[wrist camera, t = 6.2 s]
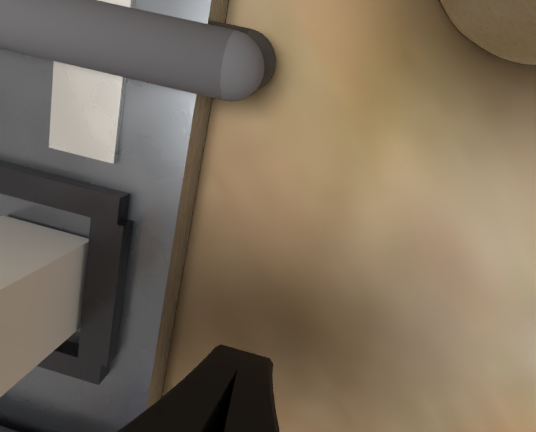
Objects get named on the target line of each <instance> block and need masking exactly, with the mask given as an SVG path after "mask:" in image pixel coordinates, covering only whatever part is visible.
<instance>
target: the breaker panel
mask: <svg viewBox="0 0 536 432" xmlns="http://www.w3.org/2000/svg"><path fill="white" fill-rule="evenodd" d="M98 1H103V2H107V3H112V4H116V5H121V6H126V7H130V8H135V9H140V10H144V11H149V12H154V13H158V14H163V15H168V16H172V17H177V18H182V19H186V20H191V21H196V22H200V23H205V24H211V23H212V22H214V21H216V22H221V23H225V19H226V14H227V8H228V2H229V0H98ZM211 102H212V97H208V96H203V95H199V94H195V93H190V92H186V91H182V90H177V89H173V88H169V87H164V86H160V85H156V84H151V83H147V82H143V81H138V80H134V79H130V78H125V77H121V76H117V75H112V74H108V73H104V72H100V71H95V70H91V69H87V68H82V67H78V66H74V65H69V64H65V63H61V62H56V61H52V60H48V59H43V58H39V57H35V56H30V55H26V54H22V53H17V52H13V51H9V50H4V49H0V216H3V215H4V216H7V217H11V218H15V219H18V220H22V221H26V222H30V223H33V224H37V225H41V226H44V227H48V228H52V229H55V230H59V231H63V232H66V233H70V234H74V235H77V236H81V237H85V238H89V242H88V253H87V264H86V274H85V285H84V296H83V307H82V318H81V328H79V329H78V330H77V331H76V332H75V333H74V334H72V335H71V336H70V337H69V338H68V339H67V340H66V341H64V342H63V343H62V344H61V345H60V346H59V347H58V348H56V349H55V350H54V351H53V352H52V353H51V354H50V355H48V356H47V357H46V358H45V359H44V360H43V361H41V362H40V363H39V364H38V365H37V366H36V367H35V368H33V369H32V370H31V371H30V372H29V373H28V374H27V375H25V376H24V377H23V378H22V379H21V380H20V381H18V382H17V383H16V384H15V385H14V386H13V387H12V388H10V389H9V390H8V391H7V392H6V393H5V394H4V395H2V396H1V397H0V426H3V427H6V428H9V429H13V430H16V431H19V432H117V431H118V430H119V429H121V428H122V427H124V426H125V425H127V424H128V423H129V422H131V421H132V420H133V419H135V418H136V417H137V416H139V415H140V414H141V413H143V412H144V411H145V410H146V409H148V408H149V407H150V406H152V405H153V404H154V403H156V402H157V401H158V400H159V399H161V396H162V390H163V384H164V378H165V373H166V367H167V361H168V355H169V349H170V343H171V337H172V331H173V325H174V320H175V314H176V308H177V302H178V296H179V290H180V284H181V278H182V272H183V267H184V261H185V255H186V249H187V243H188V237H189V231H190V225H191V220H192V214H193V208H194V202H195V196H196V190H197V184H198V178H199V172H200V167H201V161H202V155H203V149H204V143H205V137H206V131H207V125H208V119H209V114H210V108H211Z"/></svg>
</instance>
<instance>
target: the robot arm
mask: <svg viewBox="0 0 536 432" xmlns="http://www.w3.org/2000/svg"><path fill="white" fill-rule="evenodd" d="M272 369H273V363H272V362H271V360H270V359H269V358H266V357H262V356H259V355H256V354H252V353H249V352H245V351H242V350H238V349H235V348H231V347H228V346H224V345H219V346H217V347H215V348H214V349H213V350H212V352H211V353H210V354H209V355H208V356H207V357H206V358H205V359H204V360H203V361H202V362H201V363H200V364H199V365H198V366H197V367H196V368H195V369H194V370H193V371H192V372H191V373H190V374H188V375H187V376H186V377H185V378H184V379H183V380H182V381H181V382H179V383H178V384H177V385H176V386H175V387H174V388H173V389H171V390H170V391H169V392H168V393H167V394H166V395H164V396H163V397H162V398H161V399H159V400H158V401H157V402H156V403H154V404H153V405H152V406H150V407H149V408H148V409H146V410H145V411H144V412H143V413H141V414H140V415H139V416H137V417H136V418H135V419H133V420H132V421H131V422H129V423H128V424H127V425H125V426H124V427H122V428H121V429H119V430H118V431H117V432H279V426H278V421H277V416H276V409H275V403H274V394H273V382H272Z"/></svg>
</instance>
